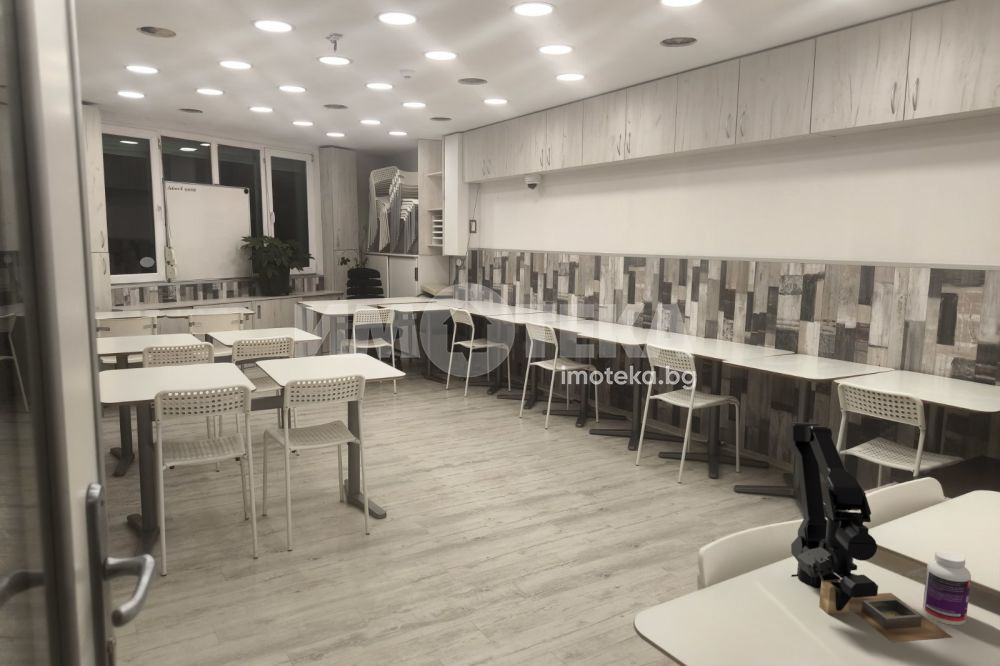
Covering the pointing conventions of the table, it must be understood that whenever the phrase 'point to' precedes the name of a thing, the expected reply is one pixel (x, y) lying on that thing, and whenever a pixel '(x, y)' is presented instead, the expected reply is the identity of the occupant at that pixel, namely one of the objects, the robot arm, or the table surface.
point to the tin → (891, 613)
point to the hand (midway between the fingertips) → (833, 606)
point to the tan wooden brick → (830, 598)
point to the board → (902, 634)
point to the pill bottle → (947, 588)
